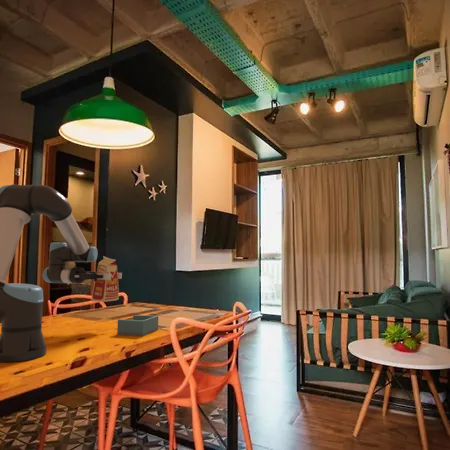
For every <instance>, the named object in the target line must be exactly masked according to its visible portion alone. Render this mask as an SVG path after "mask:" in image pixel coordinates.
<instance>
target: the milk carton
mask: <svg viewBox="0 0 450 450" xmlns="http://www.w3.org/2000/svg"><path fill="white" fill-rule="evenodd" d="M102 258H103V259H101V260H100V261H99V262H98V263H97V264H98V265H97V268H96V274H97V273H108V274H111V280H97V281H94V283H93V289H92V294H91V300H90V301H91V302H102V303H103V302H104V303H105V302H113V301H117V300H120V299H119V298H120V297H119V296H120V295H119V292H120V289H119V279H118V273H119V272H118V265H117V263H116V261H117V259H112V258H109V257H106V256H104V255H103V257H102Z"/></svg>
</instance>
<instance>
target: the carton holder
mask: <svg viewBox="0 0 450 450" xmlns="http://www.w3.org/2000/svg"><path fill="white" fill-rule="evenodd" d="M156 331H159V315H145V314H144V315H142V314H133V315H132V319H121V318H120V319H117V331H116V334H117V335H124V336H137V337H138V336H139V337H144V336H146V335H149V334H151V333H154V332H156Z"/></svg>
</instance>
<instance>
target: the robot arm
mask: <svg viewBox="0 0 450 450" xmlns="http://www.w3.org/2000/svg"><path fill="white" fill-rule="evenodd" d="M33 215H42V216H47V217H48V219H49V220H50V221H52V222H54V224H55V225H56V227H57V228H58V230H59V232H60V233H61V235H62V237H63V238H64V240H65V242H61V241H60V242H56V241H54V242H51V243H50V246H49V251H48V252H49V254H48V255H49V257H48V267H46V268H44V270H43V272H42V279H43V281H44V282H46V283H51V284H67V285H70V284H78V285H79V284H82V283H83V282H84V281H88V280H90V281H92V280H93V281H94V282H95V281H97V280H111V274H108V273H97V271H90V270H89V271H88V270H87V271H86V270H85V269H84V268H83V267H79V266H78V267H77V266H76V267H74V266H73V267H69V266H67V263H94V262H96V261H97V259H98V257H99V256H98V255H99V254H98V253H99V252H98V248H97V247H96V246H91V245H89V243H88V241H87V239H86V237H85V236H84V233H83V232H82V230H81V228H80V226H79V225H78V222H77V220H76V218H75V217H74V215H73V208H72V205H71V204H70V202H69V201H68V200H67V198H66V197H65V196H64V195H63V194H62V193H61V192H59V191H58V190H56V189H54V188H53V187H50V186H49V185H44V184H15V183H14V184H7V185H3V186H0V324H1V329H0V331H1V332H0V363H12V362H13V363H15V362H17V363H18V362H24V361H29V360H34V359H38V358H40V357H43V356H45V355H46V354H47V343H46V340H45V337H44V333H43V330H42V328H43V326H42V325H43V324H42V323H43V310H44V290H43V288H42V287H41V286H39V285H35V284H31V283H19V282H18V283H16V282H13V283H11V282H10V283H7V281H6V280H7V278H8V274H9V272H10V268H11V266H12V262H13V259H14V257H15V253H16V251H17V247H18V245H19V241H20V238H21V235H22V232H23V229H24V226H25V225H26V224H29V223H30V221H31V220H32V216H33ZM96 273H97V274H96ZM117 273H118V280H119V279H120V280H121V279H122V278H123V277H122V276H123V272H117Z"/></svg>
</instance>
